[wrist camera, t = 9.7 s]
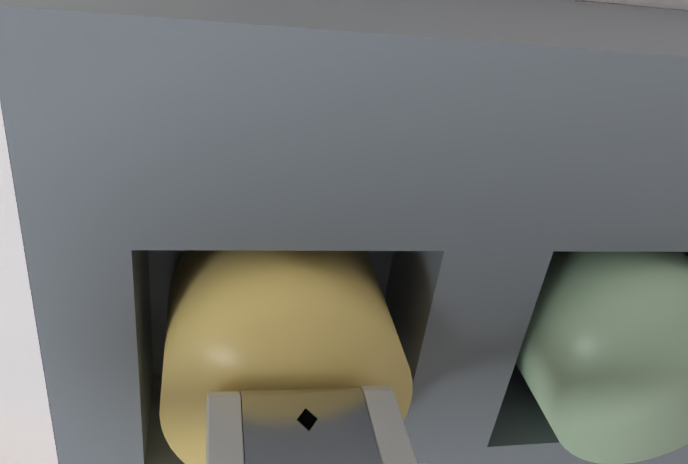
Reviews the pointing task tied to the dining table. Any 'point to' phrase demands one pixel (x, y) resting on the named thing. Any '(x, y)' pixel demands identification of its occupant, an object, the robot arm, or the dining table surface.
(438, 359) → the button panel
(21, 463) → the dining table surface
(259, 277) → the mustard button
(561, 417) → the sage button
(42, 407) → the dining table surface
